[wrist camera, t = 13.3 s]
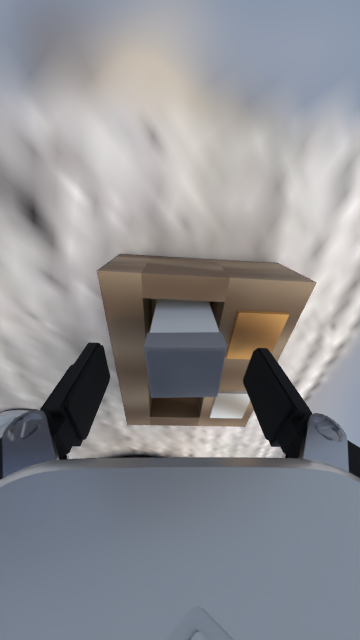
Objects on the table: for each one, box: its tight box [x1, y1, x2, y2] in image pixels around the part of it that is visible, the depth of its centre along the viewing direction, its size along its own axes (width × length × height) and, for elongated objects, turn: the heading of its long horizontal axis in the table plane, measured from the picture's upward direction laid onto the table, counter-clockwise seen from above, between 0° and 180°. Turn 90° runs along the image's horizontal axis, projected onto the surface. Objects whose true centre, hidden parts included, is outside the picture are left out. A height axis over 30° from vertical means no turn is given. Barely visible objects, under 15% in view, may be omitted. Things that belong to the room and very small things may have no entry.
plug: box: [144, 299, 227, 398], centre depth 13 cm, size 4×4×8 cm
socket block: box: [97, 254, 316, 427], centre depth 18 cm, size 18×14×5 cm
